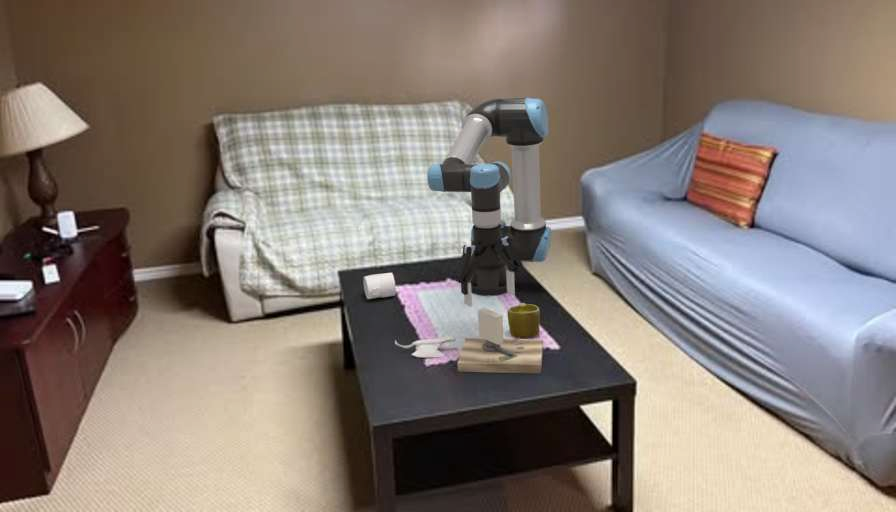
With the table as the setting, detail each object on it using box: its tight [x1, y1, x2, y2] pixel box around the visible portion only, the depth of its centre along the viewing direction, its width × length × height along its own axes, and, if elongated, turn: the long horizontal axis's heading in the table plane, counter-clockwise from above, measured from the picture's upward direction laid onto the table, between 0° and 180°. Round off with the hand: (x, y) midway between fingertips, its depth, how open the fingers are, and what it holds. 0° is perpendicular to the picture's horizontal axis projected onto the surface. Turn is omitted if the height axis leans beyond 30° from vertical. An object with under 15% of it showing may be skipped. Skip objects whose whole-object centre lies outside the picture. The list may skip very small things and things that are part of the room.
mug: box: [506, 302, 541, 339], centre depth 226 cm, size 12×10×10 cm
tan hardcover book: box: [457, 337, 544, 375], centre depth 211 cm, size 16×22×3 cm
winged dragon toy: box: [393, 336, 456, 358], centre depth 218 cm, size 18×10×4 cm, turn 93°
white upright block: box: [477, 307, 514, 356], centre depth 209 cm, size 5×12×10 cm, turn 39°
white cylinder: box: [363, 272, 396, 300], centre depth 261 cm, size 12×9×8 cm
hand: (489, 299), depth 209 cm, fingers open, 13 cm apart
